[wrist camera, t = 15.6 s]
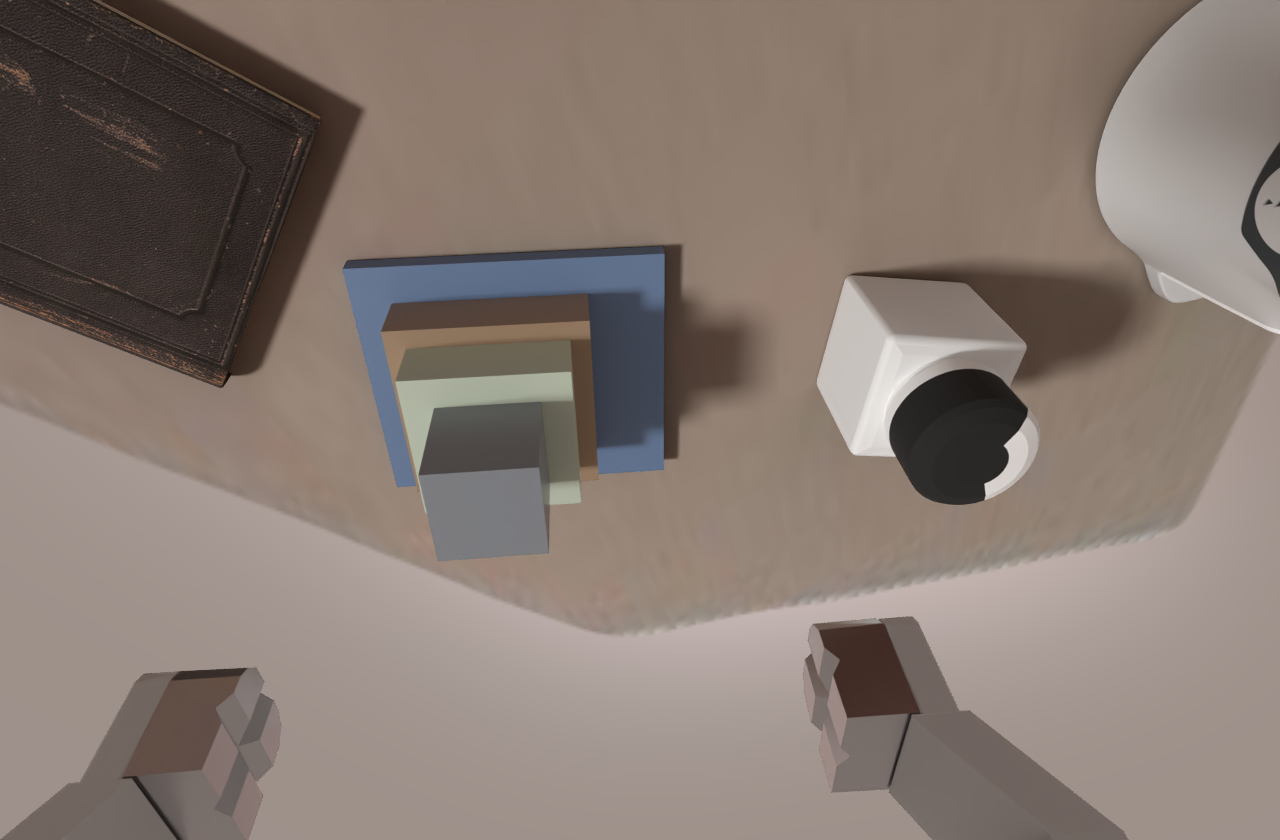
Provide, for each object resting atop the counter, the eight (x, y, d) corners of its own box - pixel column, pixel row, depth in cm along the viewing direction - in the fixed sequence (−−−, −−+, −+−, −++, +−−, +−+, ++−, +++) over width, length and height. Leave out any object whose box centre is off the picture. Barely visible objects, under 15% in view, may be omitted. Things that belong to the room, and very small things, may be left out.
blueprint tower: (662, 246, 40) (679, 307, 35) (661, 459, 48) (675, 538, 43) (346, 260, 39) (310, 326, 34) (399, 476, 47) (378, 559, 42)
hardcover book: (-314, -236, 28) (-379, -244, 26) (332, 109, 36) (319, 122, 34) (-302, 161, 35) (-351, 177, 33) (233, 371, 43) (218, 394, 41)
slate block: (541, 401, 37) (538, 467, 33) (549, 483, 40) (548, 553, 36) (434, 408, 36) (418, 475, 32) (450, 489, 39) (438, 561, 35)
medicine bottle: (813, 384, 46) (882, 522, 36) (844, 272, 42) (931, 393, 32) (927, 389, 47) (1024, 525, 37) (968, 280, 43) (1088, 401, 33)
